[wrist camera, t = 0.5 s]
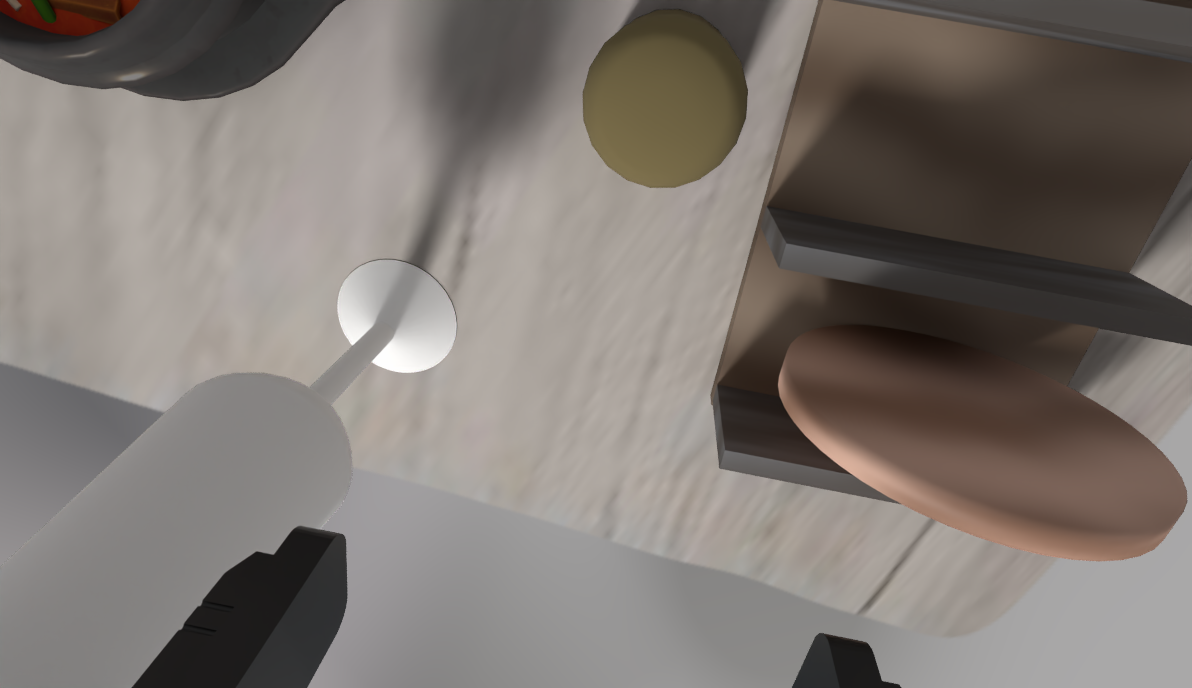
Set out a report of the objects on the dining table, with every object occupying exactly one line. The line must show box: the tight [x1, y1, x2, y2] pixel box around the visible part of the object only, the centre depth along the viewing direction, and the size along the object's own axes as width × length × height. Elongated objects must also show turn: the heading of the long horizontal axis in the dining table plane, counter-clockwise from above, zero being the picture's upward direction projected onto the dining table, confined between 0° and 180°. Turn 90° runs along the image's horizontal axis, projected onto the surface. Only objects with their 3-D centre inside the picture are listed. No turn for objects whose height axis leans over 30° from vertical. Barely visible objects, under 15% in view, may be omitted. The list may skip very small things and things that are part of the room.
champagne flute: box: [0, 260, 457, 688], centre depth 25 cm, size 7×7×24 cm
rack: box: [710, 0, 1192, 561], centre depth 22 cm, size 30×16×15 cm, turn 171°
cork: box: [583, 9, 748, 188], centre depth 24 cm, size 6×6×11 cm
